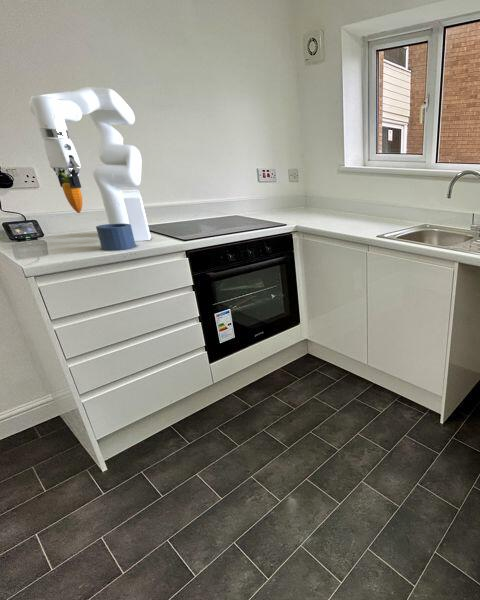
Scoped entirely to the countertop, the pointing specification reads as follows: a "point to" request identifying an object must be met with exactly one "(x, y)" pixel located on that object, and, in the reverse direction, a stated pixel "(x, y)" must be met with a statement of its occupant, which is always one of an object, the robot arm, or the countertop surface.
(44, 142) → the robot arm
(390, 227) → the countertop surface
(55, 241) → the countertop surface
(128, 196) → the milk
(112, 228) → the blue faceted cup
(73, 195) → the carrot
